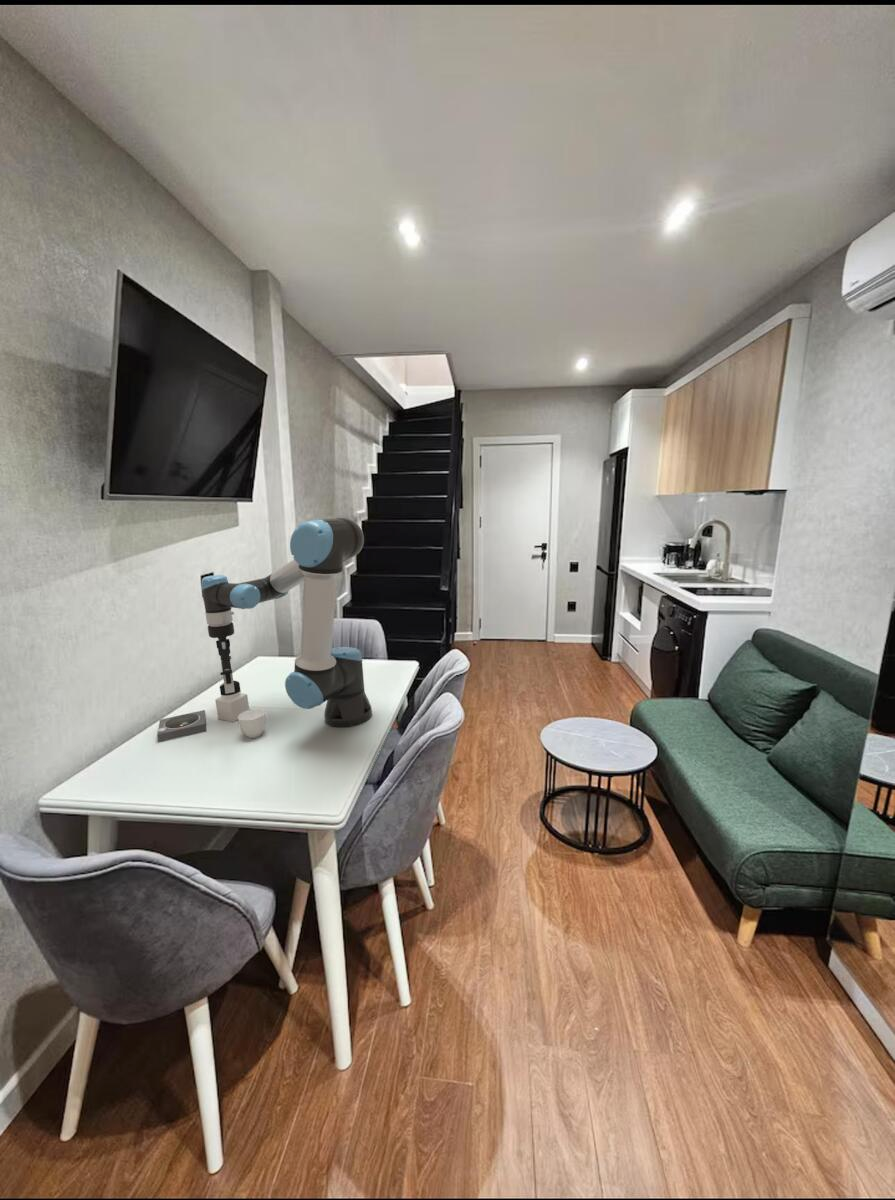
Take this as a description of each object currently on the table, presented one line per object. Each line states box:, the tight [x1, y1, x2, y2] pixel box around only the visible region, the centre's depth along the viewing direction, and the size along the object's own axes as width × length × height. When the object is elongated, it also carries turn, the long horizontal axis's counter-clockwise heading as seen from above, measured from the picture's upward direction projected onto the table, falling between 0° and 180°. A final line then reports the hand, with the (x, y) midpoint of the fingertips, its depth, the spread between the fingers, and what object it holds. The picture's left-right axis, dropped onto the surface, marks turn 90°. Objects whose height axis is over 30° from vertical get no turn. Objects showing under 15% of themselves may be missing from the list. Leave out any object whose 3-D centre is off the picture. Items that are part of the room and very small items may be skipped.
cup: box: [237, 708, 267, 739], centre depth 145 cm, size 8×10×7 cm
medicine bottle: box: [215, 680, 250, 723], centre depth 157 cm, size 7×7×12 cm
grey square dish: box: [156, 709, 207, 743], centre depth 151 cm, size 12×13×3 cm
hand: (228, 685), depth 157 cm, fingers open, 13 cm apart
